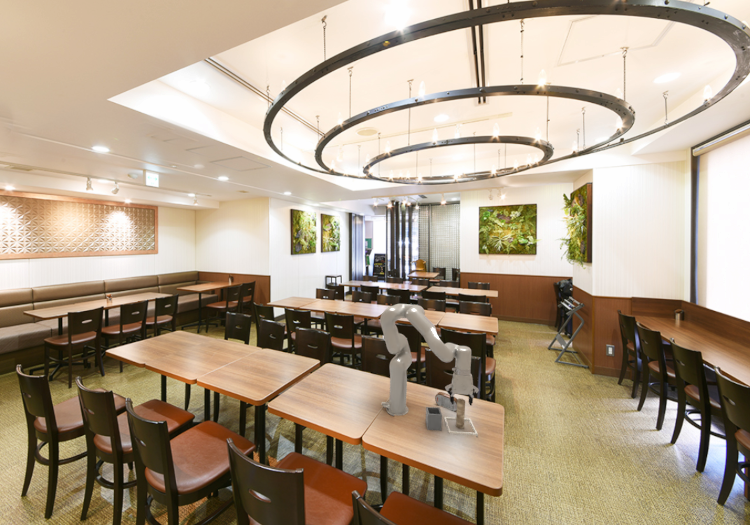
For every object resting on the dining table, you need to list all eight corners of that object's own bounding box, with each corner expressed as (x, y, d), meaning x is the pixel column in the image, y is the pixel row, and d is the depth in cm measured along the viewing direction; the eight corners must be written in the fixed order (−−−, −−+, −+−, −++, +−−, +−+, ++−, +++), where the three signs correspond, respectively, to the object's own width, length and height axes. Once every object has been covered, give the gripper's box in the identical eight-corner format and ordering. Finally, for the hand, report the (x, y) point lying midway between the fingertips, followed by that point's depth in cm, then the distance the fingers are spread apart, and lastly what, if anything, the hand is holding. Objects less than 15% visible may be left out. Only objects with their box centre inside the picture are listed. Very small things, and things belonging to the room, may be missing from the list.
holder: (427, 431, 144) (428, 414, 144) (425, 423, 151) (426, 406, 151) (441, 432, 144) (442, 415, 144) (438, 424, 151) (439, 407, 151)
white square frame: (449, 435, 142) (449, 432, 142) (443, 420, 155) (444, 416, 155) (477, 437, 141) (477, 433, 141) (469, 421, 154) (470, 418, 154)
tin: (460, 413, 162) (460, 398, 162) (457, 415, 160) (458, 400, 160) (436, 403, 172) (437, 389, 172) (434, 405, 170) (434, 391, 170)
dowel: (456, 428, 146) (458, 402, 146) (455, 424, 150) (456, 398, 150) (464, 429, 146) (466, 402, 145) (462, 424, 150) (464, 398, 149)
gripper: (447, 373, 144) (445, 406, 144) (482, 374, 143) (480, 408, 143) (444, 367, 151) (442, 398, 152) (477, 368, 150) (475, 400, 151)
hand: (461, 403), depth 148 cm, fingers open, 8 cm apart
